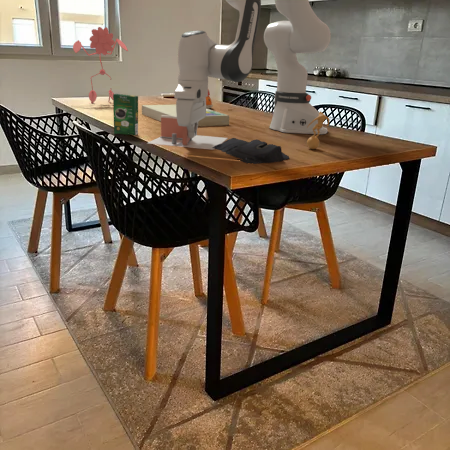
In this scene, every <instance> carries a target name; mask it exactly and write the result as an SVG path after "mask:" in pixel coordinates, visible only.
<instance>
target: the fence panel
mask: <svg viewBox="0 0 450 450" xmlns="http://www.w3.org/2000/svg"><path fill="white" fill-rule="evenodd" d="M189 140H190V138H189V137H188V130H187V127H186V126H183V145H187V143H188V142H189Z"/></svg>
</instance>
